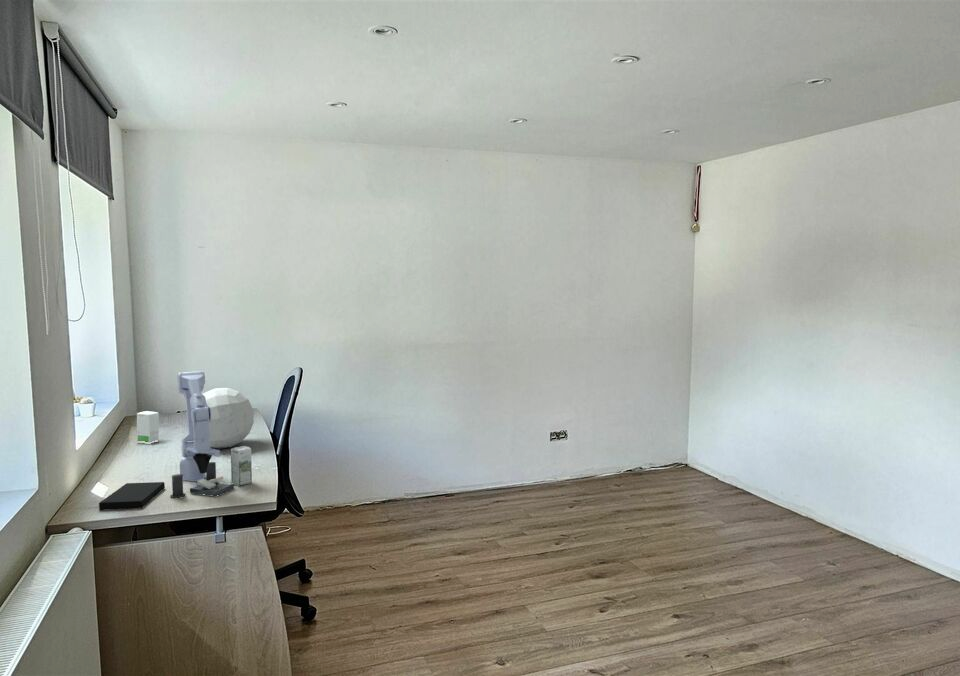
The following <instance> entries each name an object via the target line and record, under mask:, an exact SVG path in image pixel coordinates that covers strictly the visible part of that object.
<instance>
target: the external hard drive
mask: <svg viewBox="0 0 960 676" xmlns="http://www.w3.org/2000/svg"><path fill="white" fill-rule="evenodd" d="M165 486H166V485H165V481H154V482H151V481H150V482H127V483H125V484H123V485H122V486H120V487H119V488H118V489H117V490H115V491H114V492H112V493H111V494H109V495H108V496H107V497H105V498H104V499H103V500H101V501H100V502H99V503H98V510H99V511H103V510H102V509H106V510H105V511H108V510H107V509H110V511H111V509H113V510H133V509H136V510H137V509H143V508H144V507H145V506H147V503H148V502H149V501H150V500H151V499H152V498H153V497H154V498H156V497H157V496H158V495H159V494H160V493H161V492H162V491H161V490H163V489H164V488H166V487H165ZM164 490H165V489H164ZM164 490H163V491H164ZM160 491H161V492H160ZM159 492H160V493H159ZM158 493H159V494H158ZM157 494H158V495H157ZM156 495H157V496H156ZM155 496H156V497H155ZM154 498H153V499H154ZM153 499H152V500H153ZM152 500H151V501H152ZM151 501H150V502H151ZM150 502H149V503H150ZM149 503H148V504H149ZM113 510H112V511H113Z"/></svg>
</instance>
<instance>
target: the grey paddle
mask: <svg viewBox="0 0 960 676" xmlns="http://www.w3.org/2000/svg"><path fill="white" fill-rule="evenodd" d="M196 484H197V485H201V486H204V487H206V488H208V489H211V488H213V487H215V486H216V484H214V483H212V482H210V481H207V480H206V478H205V479H201V480H199V481H197V482H196Z"/></svg>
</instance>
